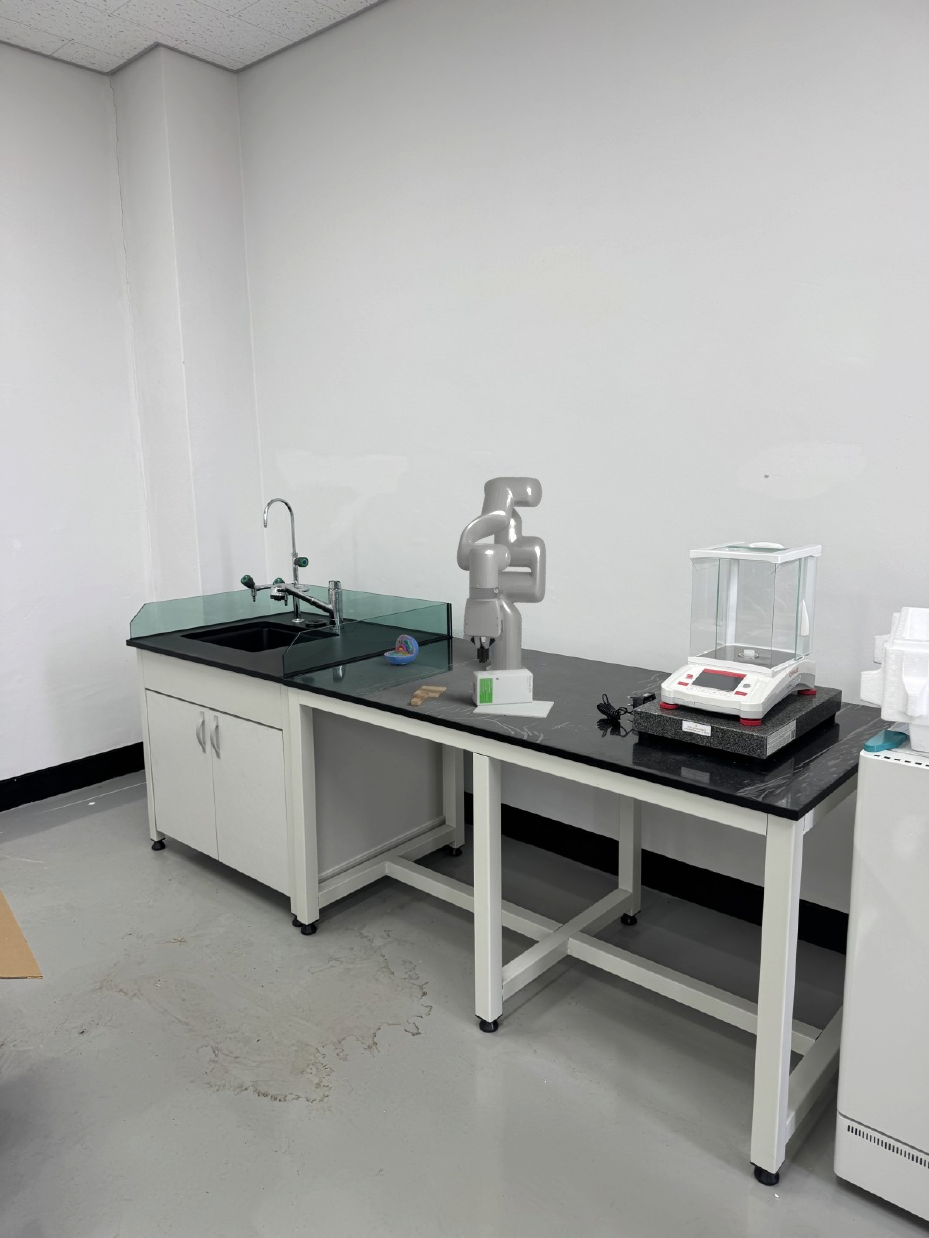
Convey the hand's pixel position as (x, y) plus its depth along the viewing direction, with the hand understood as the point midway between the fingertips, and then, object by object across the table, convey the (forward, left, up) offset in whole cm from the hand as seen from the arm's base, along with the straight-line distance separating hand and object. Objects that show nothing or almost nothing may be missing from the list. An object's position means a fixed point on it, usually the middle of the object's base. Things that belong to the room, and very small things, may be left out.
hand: (483, 661), depth 231 cm
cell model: (-43, -37, -12) cm, 58 cm away
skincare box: (-1, -3, -8) cm, 8 cm away
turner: (-6, -18, -12) cm, 23 cm away
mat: (0, +9, -12) cm, 15 cm away
